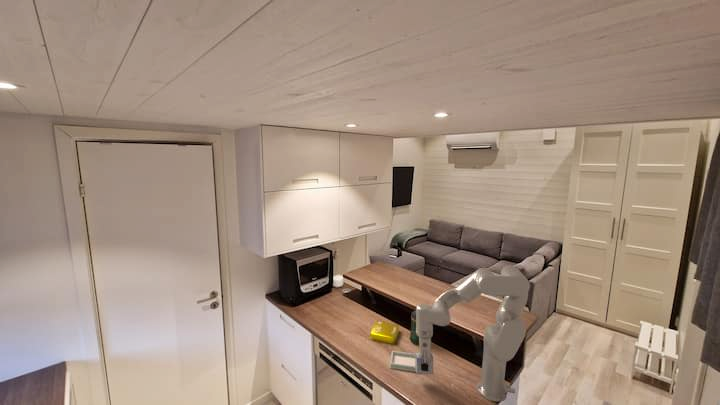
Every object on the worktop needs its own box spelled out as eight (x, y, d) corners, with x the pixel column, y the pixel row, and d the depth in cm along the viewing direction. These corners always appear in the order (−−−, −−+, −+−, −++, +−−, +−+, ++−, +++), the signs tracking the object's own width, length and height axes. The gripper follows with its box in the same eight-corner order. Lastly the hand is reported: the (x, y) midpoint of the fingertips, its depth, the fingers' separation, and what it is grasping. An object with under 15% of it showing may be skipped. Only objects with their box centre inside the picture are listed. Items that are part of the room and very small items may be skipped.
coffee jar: (418, 347, 166) (419, 316, 163) (407, 340, 172) (408, 311, 169) (428, 340, 172) (430, 311, 169) (417, 334, 178) (419, 306, 175)
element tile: (394, 345, 168) (394, 337, 167) (369, 339, 173) (369, 332, 172) (399, 331, 182) (399, 324, 181) (376, 326, 187) (376, 319, 186)
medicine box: (431, 367, 142) (431, 351, 141) (433, 374, 138) (433, 357, 136) (414, 368, 142) (414, 352, 141) (416, 375, 137) (416, 358, 136)
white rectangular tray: (419, 357, 157) (419, 354, 156) (419, 372, 146) (419, 368, 146) (391, 354, 159) (391, 350, 159) (389, 367, 149) (389, 363, 148)
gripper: (433, 342, 128) (433, 380, 130) (431, 321, 144) (431, 355, 147) (416, 341, 129) (416, 378, 132) (416, 320, 146) (416, 354, 148)
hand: (424, 365), depth 139 cm, fingers closed on medicine box, 5 cm apart
